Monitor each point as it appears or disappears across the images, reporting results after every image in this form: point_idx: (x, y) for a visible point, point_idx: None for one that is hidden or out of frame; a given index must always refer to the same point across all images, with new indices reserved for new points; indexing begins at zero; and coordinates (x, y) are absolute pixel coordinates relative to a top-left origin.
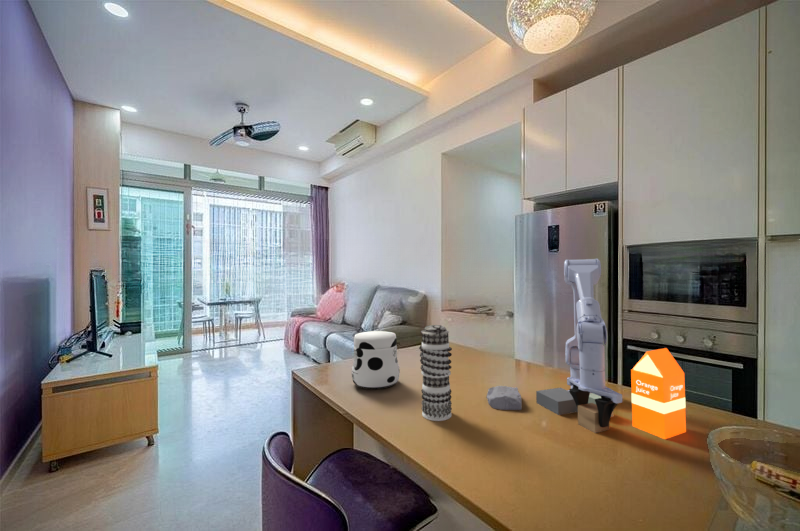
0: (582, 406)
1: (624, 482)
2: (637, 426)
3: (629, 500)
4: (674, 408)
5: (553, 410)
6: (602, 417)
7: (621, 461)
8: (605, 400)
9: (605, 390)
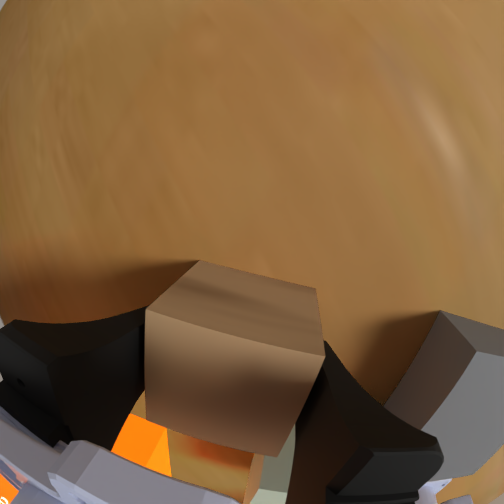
0: (285, 369)
1: (26, 39)
2: (146, 425)
3: (20, 8)
4: None
5: (470, 323)
6: (121, 316)
7: (43, 116)
8: (15, 384)
9: (8, 474)
